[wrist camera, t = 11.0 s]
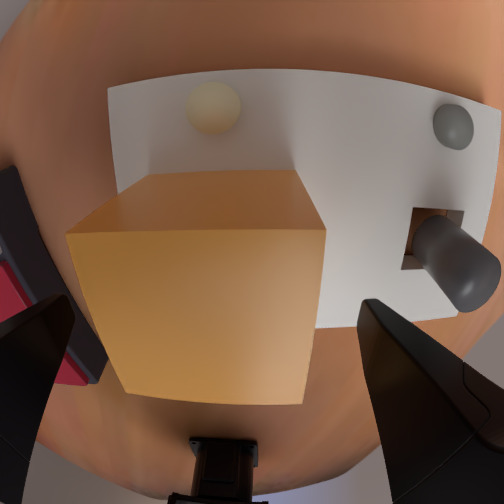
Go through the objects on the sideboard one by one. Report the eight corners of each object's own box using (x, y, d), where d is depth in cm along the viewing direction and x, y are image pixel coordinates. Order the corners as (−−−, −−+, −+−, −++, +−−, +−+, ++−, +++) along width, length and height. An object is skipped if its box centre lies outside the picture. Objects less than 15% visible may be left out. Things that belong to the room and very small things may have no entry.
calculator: (14, 383, 18) (-79, 237, 10) (33, 350, 21) (-47, 213, 14) (96, 393, 16) (-32, 186, 9) (115, 349, 20) (17, 161, 13)
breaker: (447, 263, 13) (487, 309, 9) (407, 264, 13) (444, 315, 9) (459, 216, 12) (508, 254, 8) (417, 213, 12) (464, 254, 8)
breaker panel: (446, 302, 16) (460, 322, 14) (155, 308, 16) (144, 332, 15) (483, 108, 10) (508, 112, 8) (122, 89, 11) (100, 87, 9)
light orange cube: (290, 297, 14) (301, 403, 9) (166, 296, 14) (126, 392, 9) (295, 170, 11) (326, 229, 6) (147, 175, 11) (64, 233, 6)
